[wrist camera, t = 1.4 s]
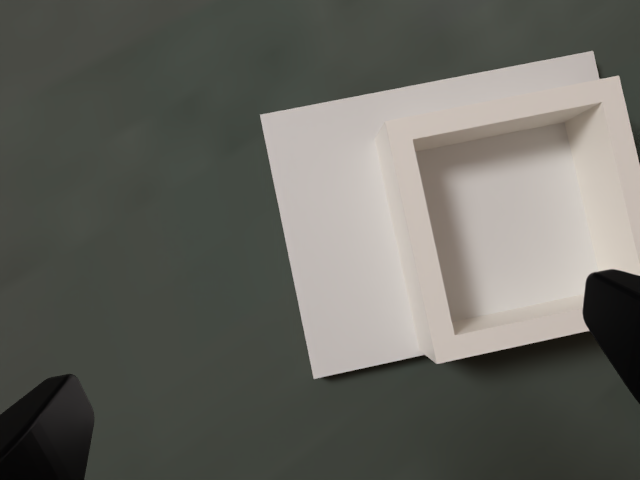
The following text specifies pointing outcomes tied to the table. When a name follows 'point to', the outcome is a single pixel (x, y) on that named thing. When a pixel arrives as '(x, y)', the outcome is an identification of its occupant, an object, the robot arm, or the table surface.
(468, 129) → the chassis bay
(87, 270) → the table surface
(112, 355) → the table surface
